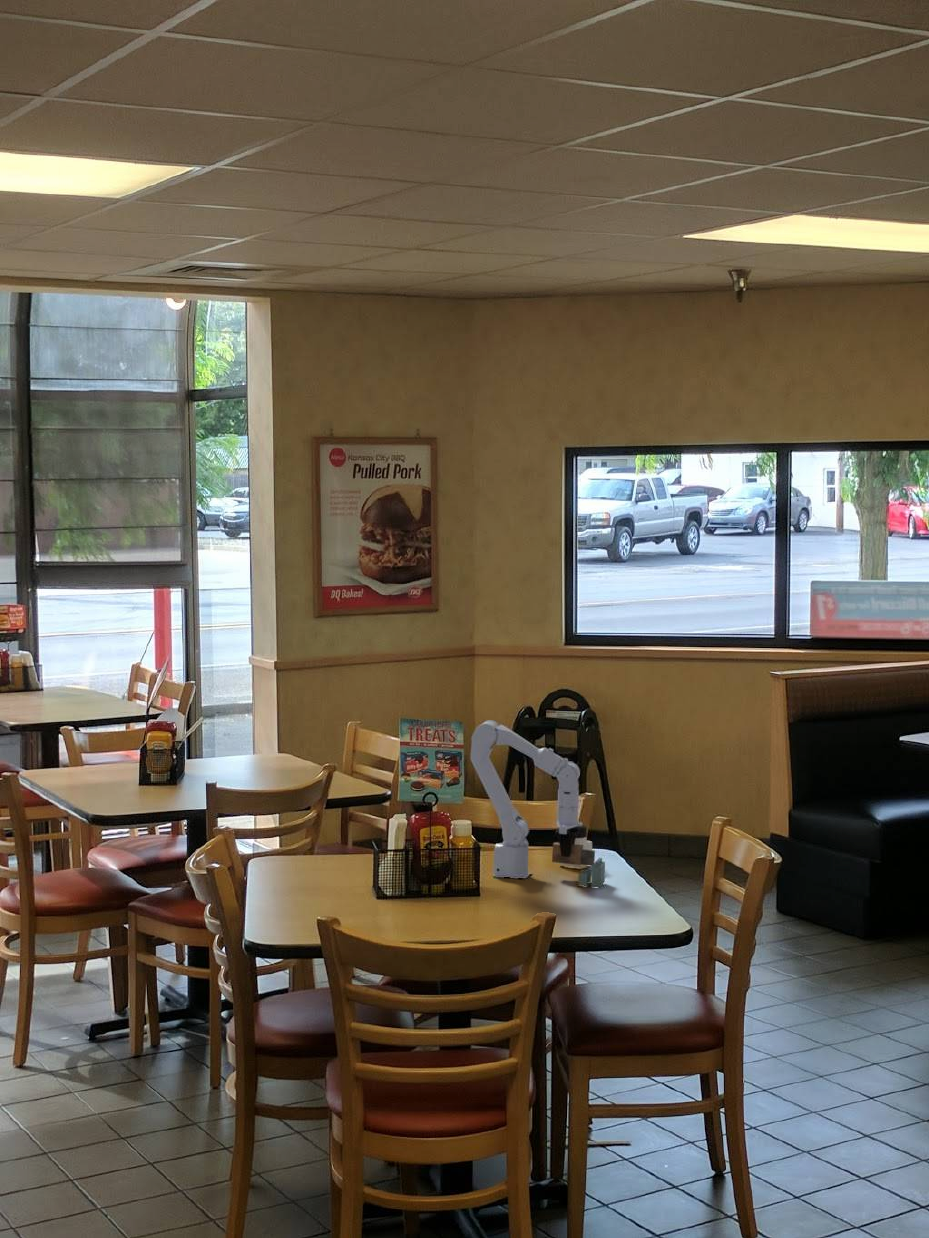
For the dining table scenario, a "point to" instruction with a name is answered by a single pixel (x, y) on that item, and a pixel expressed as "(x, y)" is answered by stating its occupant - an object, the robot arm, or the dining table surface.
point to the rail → (573, 855)
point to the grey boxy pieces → (593, 875)
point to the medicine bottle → (581, 842)
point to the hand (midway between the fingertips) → (567, 855)
